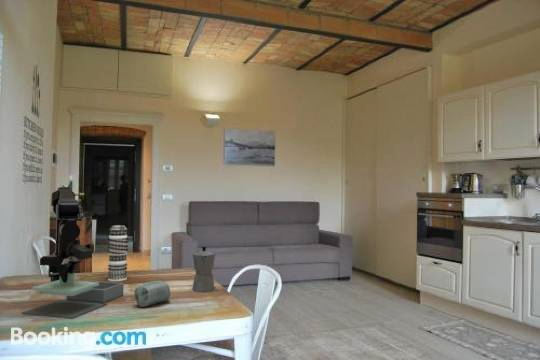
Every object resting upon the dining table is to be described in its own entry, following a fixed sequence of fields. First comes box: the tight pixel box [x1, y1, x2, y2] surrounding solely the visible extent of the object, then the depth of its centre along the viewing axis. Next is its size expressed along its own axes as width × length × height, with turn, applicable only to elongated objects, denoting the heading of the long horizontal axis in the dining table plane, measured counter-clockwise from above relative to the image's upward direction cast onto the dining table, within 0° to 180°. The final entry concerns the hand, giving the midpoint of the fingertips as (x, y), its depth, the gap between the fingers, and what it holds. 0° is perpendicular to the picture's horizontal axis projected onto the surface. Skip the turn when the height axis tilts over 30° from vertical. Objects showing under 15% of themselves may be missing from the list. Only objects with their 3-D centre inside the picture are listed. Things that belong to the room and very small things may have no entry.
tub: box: [66, 280, 125, 304], centre depth 157 cm, size 16×12×5 cm
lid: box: [31, 272, 99, 297], centre depth 142 cm, size 17×13×6 cm
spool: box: [134, 280, 171, 308], centre depth 150 cm, size 14×10×10 cm
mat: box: [21, 299, 108, 320], centre depth 142 cm, size 20×17×1 cm
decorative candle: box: [107, 224, 130, 282], centre depth 192 cm, size 9×9×25 cm
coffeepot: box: [191, 246, 216, 293], centre depth 174 cm, size 15×9×18 cm, turn 13°
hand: (66, 282), depth 142 cm, fingers closed on lid
